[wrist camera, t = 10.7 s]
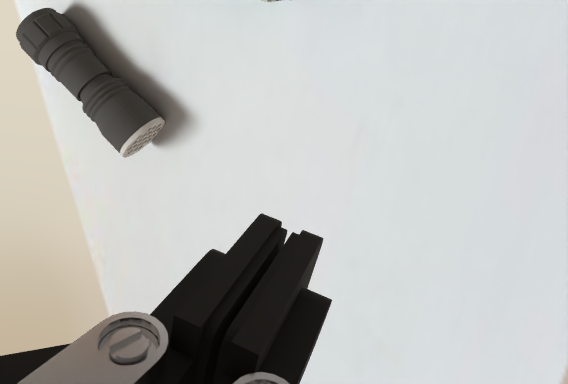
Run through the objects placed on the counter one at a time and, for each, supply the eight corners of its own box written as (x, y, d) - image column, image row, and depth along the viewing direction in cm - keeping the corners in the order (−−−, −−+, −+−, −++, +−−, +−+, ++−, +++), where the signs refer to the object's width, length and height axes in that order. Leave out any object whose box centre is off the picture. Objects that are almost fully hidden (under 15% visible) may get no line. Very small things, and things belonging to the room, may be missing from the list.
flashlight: (45, 40, 48) (1, 47, 43) (65, 0, 45) (19, 3, 40) (147, 146, 49) (114, 164, 44) (173, 114, 46) (140, 130, 41)
